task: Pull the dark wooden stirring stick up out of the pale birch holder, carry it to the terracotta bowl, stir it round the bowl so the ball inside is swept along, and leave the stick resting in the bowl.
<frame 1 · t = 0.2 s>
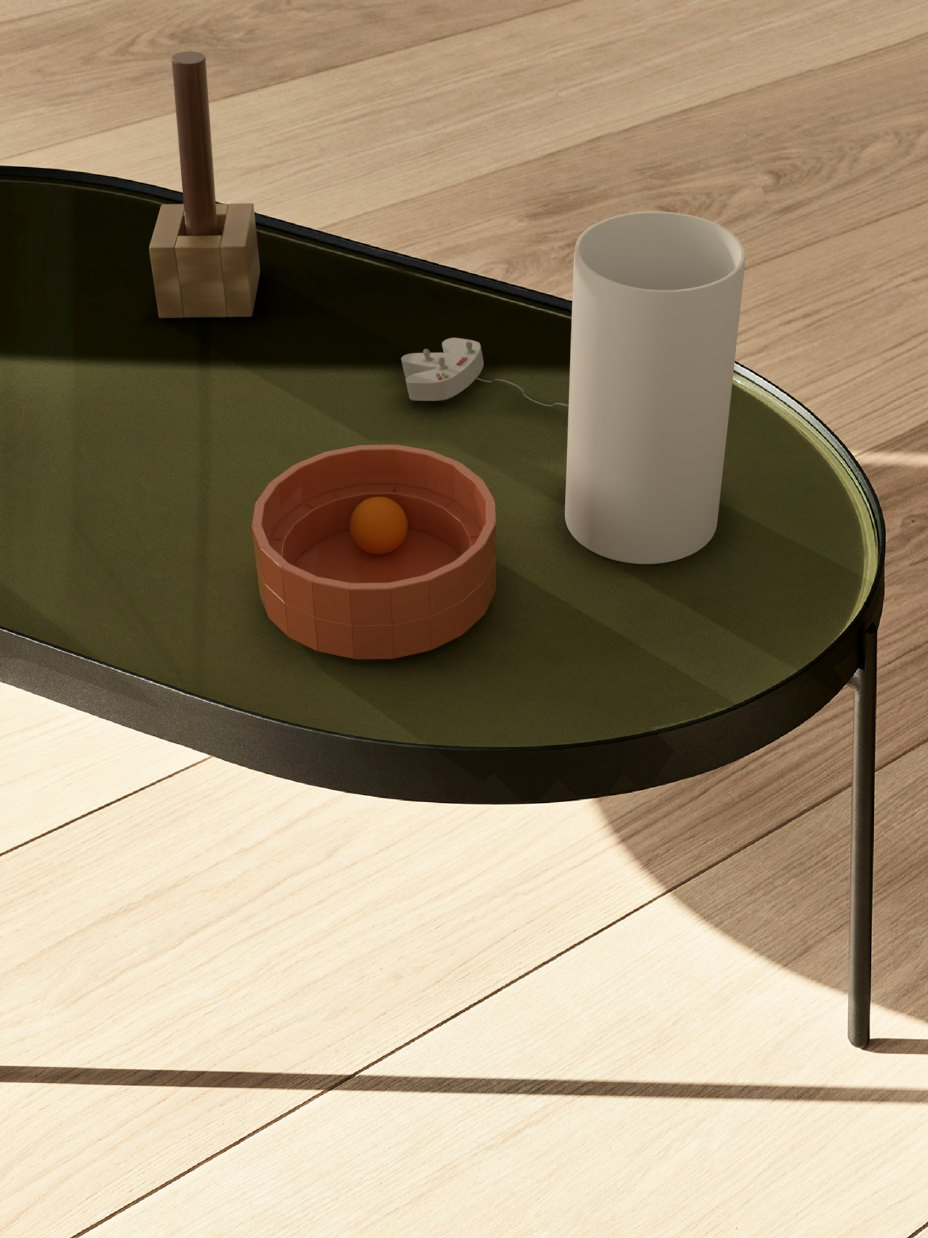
holder: (210, 294, 110), on the table
game controller: (488, 401, 100), on the table
bowl: (378, 590, 86), on the table
stick: (206, 296, 110), resting in holder
cup: (640, 520, 91), on the table
ball: (378, 525, 87), point 2 cm above the table, touching bowl
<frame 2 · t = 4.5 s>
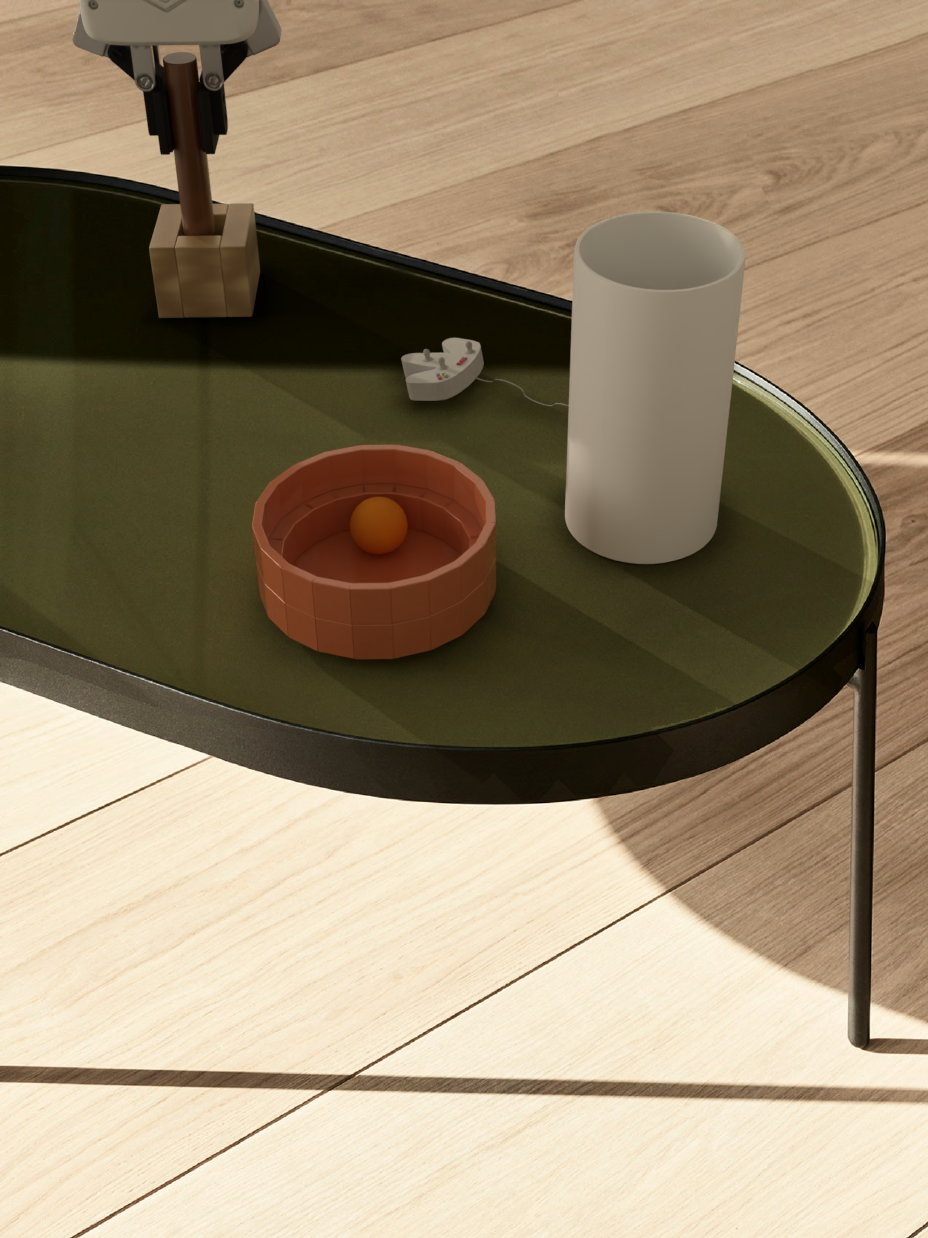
hand: (190, 142, 103), 11 cm above the table, tool pointing down, fingers closed on stick, 2 cm apart
stick: (207, 297, 110), resting in holder, touching gripper
everything else where it was.
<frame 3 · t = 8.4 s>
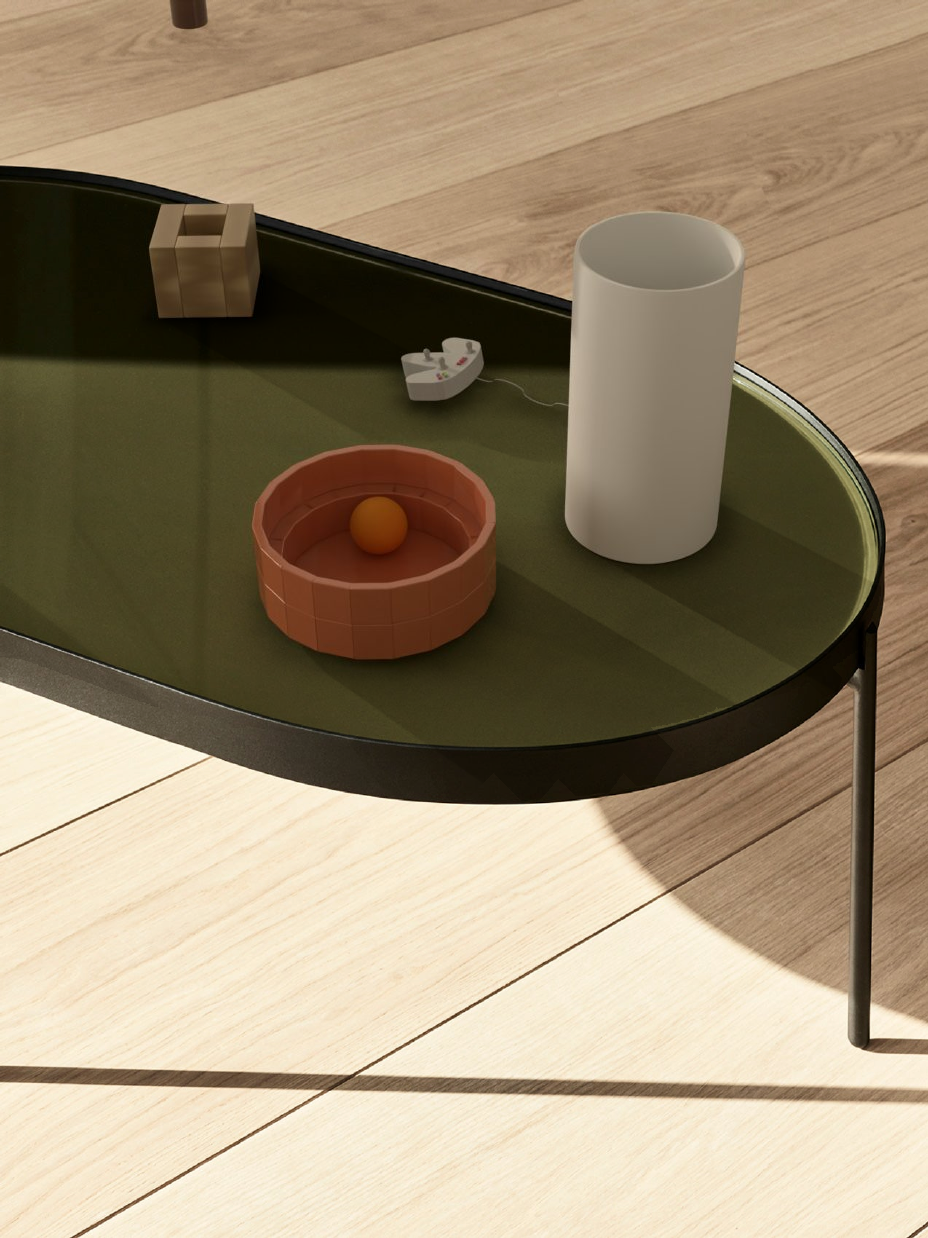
stick: (190, 22, 95), point 19 cm above the table, touching gripper
everything else where it was.
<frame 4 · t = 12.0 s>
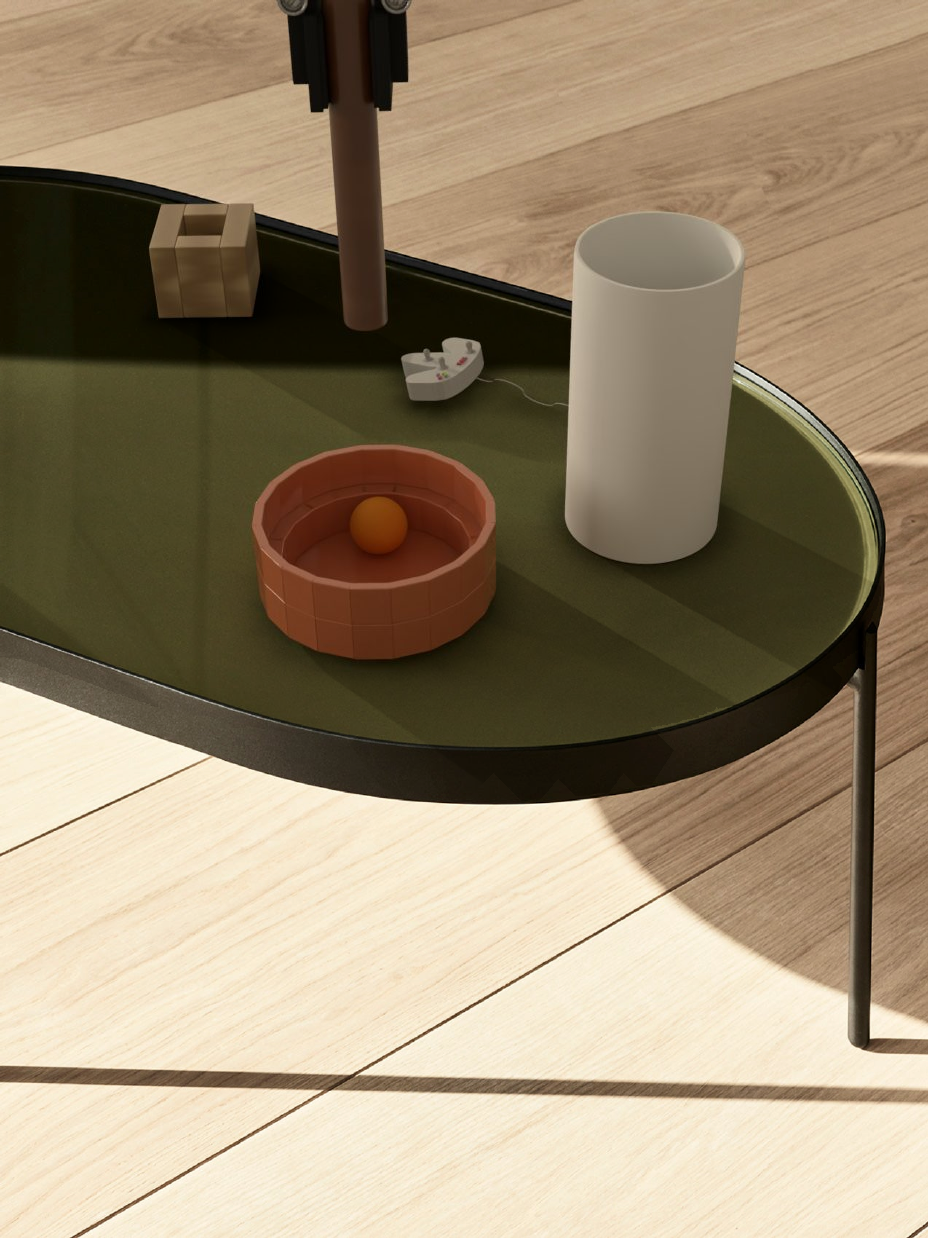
hand: (352, 95, 70), 26 cm above the table, tool pointing down, fingers closed on stick
stick: (365, 320, 76), point 16 cm above the table, touching gripper
everything else where it was.
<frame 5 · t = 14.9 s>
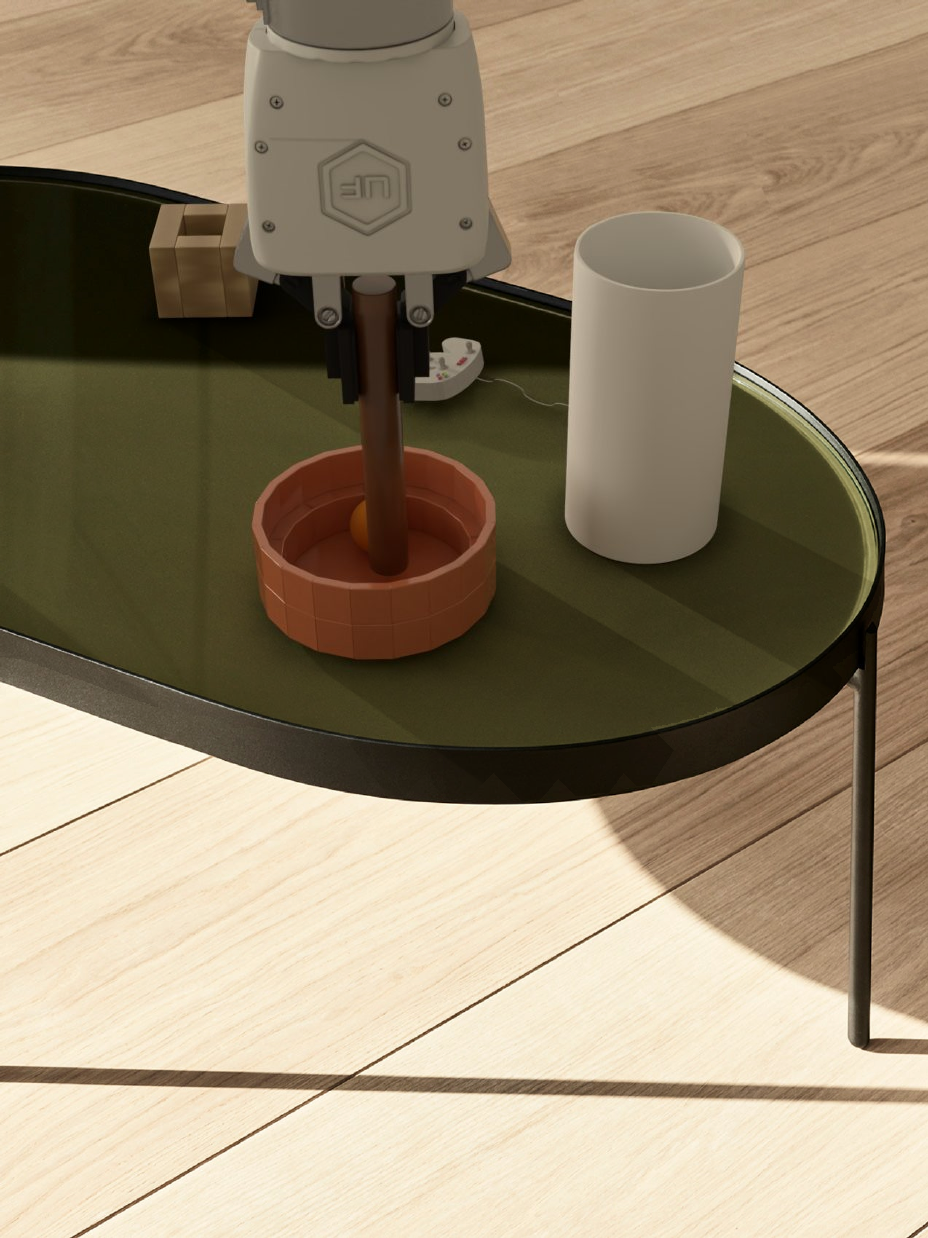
hand: (379, 385, 78), 12 cm above the table, tool pointing down, fingers closed on stick, 2 cm apart
stick: (389, 564, 85), point 2 cm above the table, touching gripper
everything else where it was.
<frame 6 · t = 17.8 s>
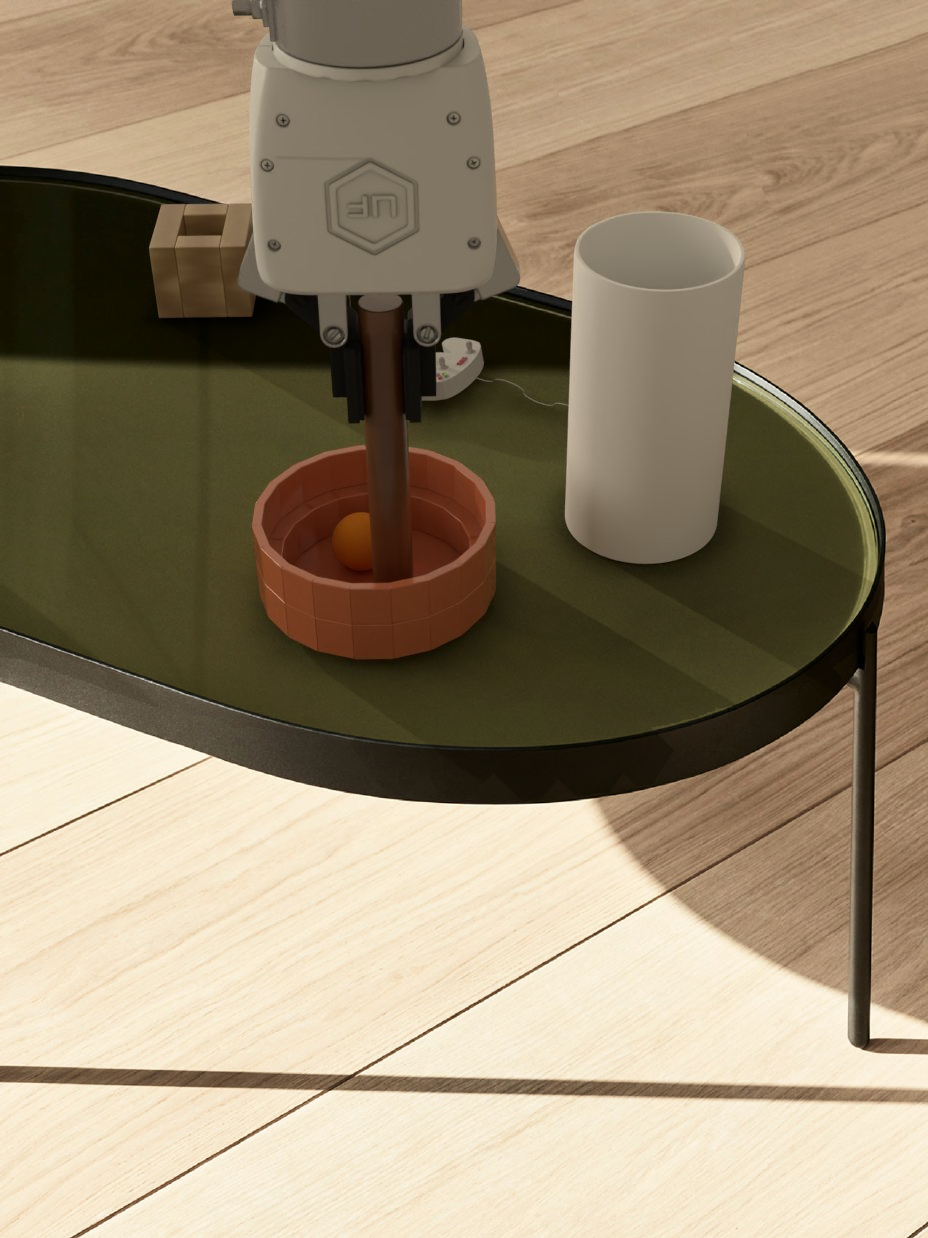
hand: (385, 404, 77), 12 cm above the table, tool pointing down, fingers closed on stick, 2 cm apart
stick: (393, 591, 84), point 2 cm above the table, touching gripper
ball: (361, 541, 86), point 2 cm above the table, tilted 43°, touching bowl
everything else where it was.
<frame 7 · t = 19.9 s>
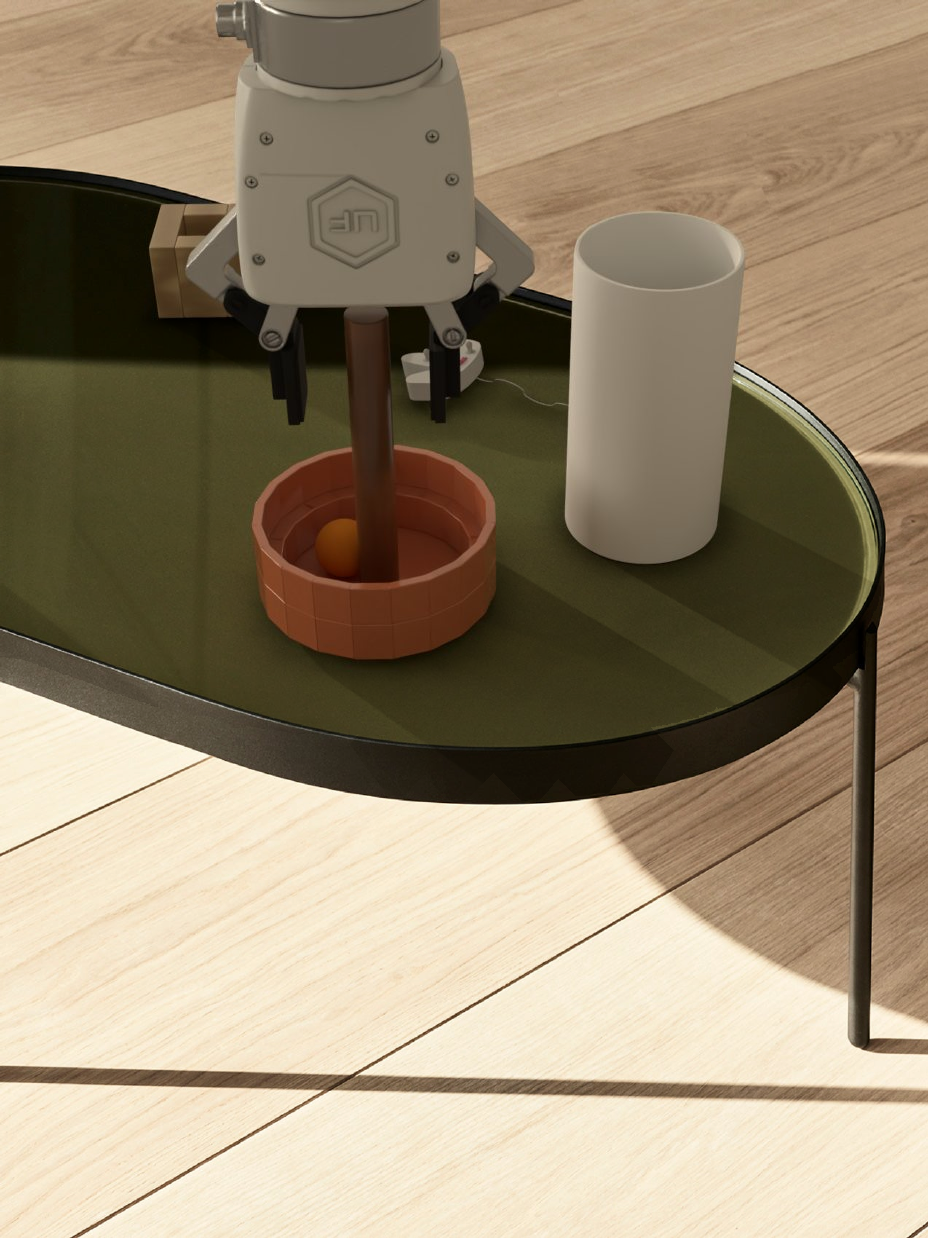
hand: (368, 405, 79), 11 cm above the table, tool pointing down, fingers open, 6 cm apart
stick: (380, 591, 85), point 1 cm above the table, touching bowl
ball: (344, 547, 86), point 2 cm above the table, tilted 51°, touching bowl
everything else where it was.
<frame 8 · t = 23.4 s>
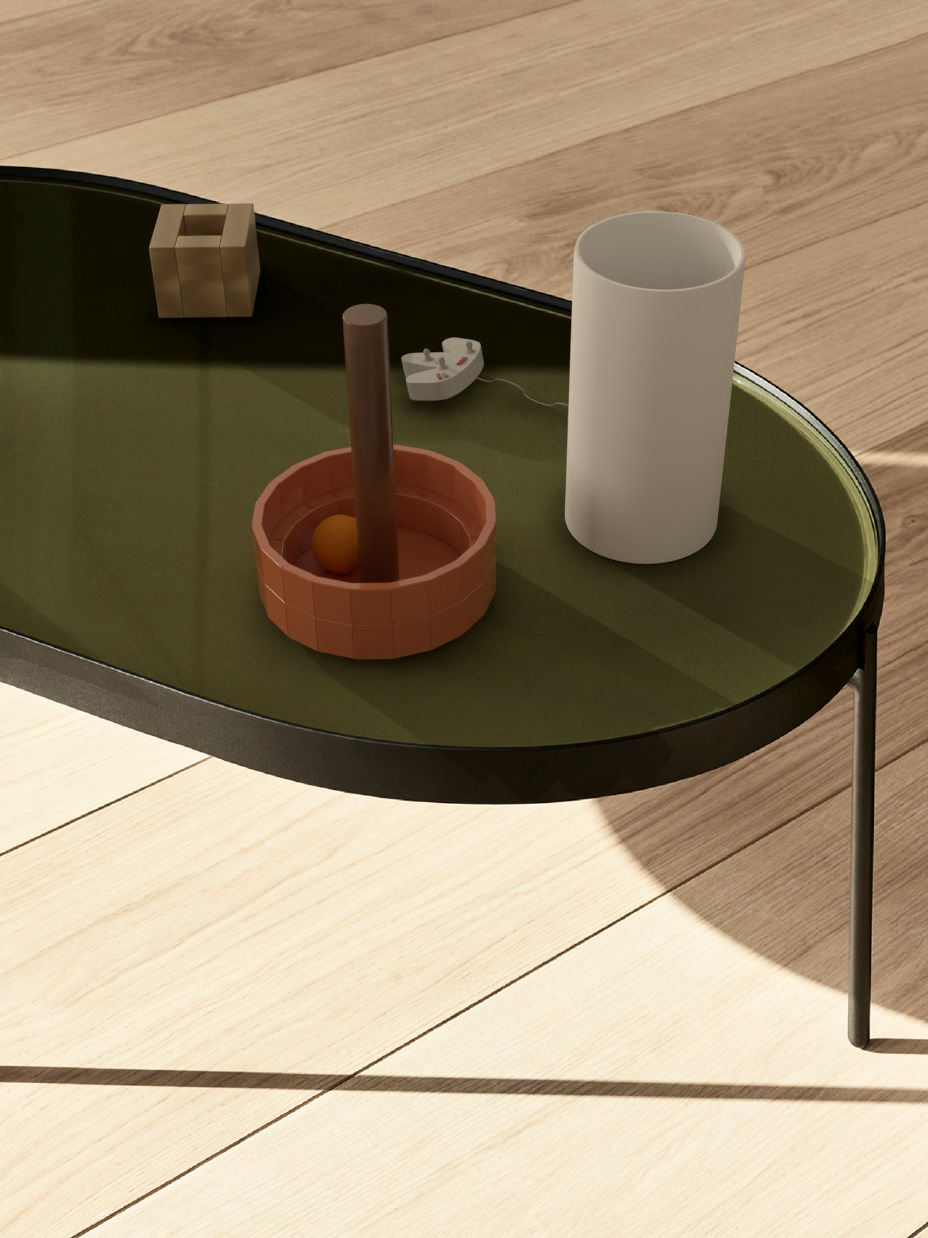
ball: (340, 543, 86), point 2 cm above the table, tilted 38°, touching bowl
everything else where it was.
at the end: ball moved 2.4 cm from its start; ball inside the target area in the bowl (2.3 cm from its centre), point 2.1 cm above the bowl's base; stick inside the target area in the bowl (0.8 cm from its centre), point 0.6 cm above the bowl's base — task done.
